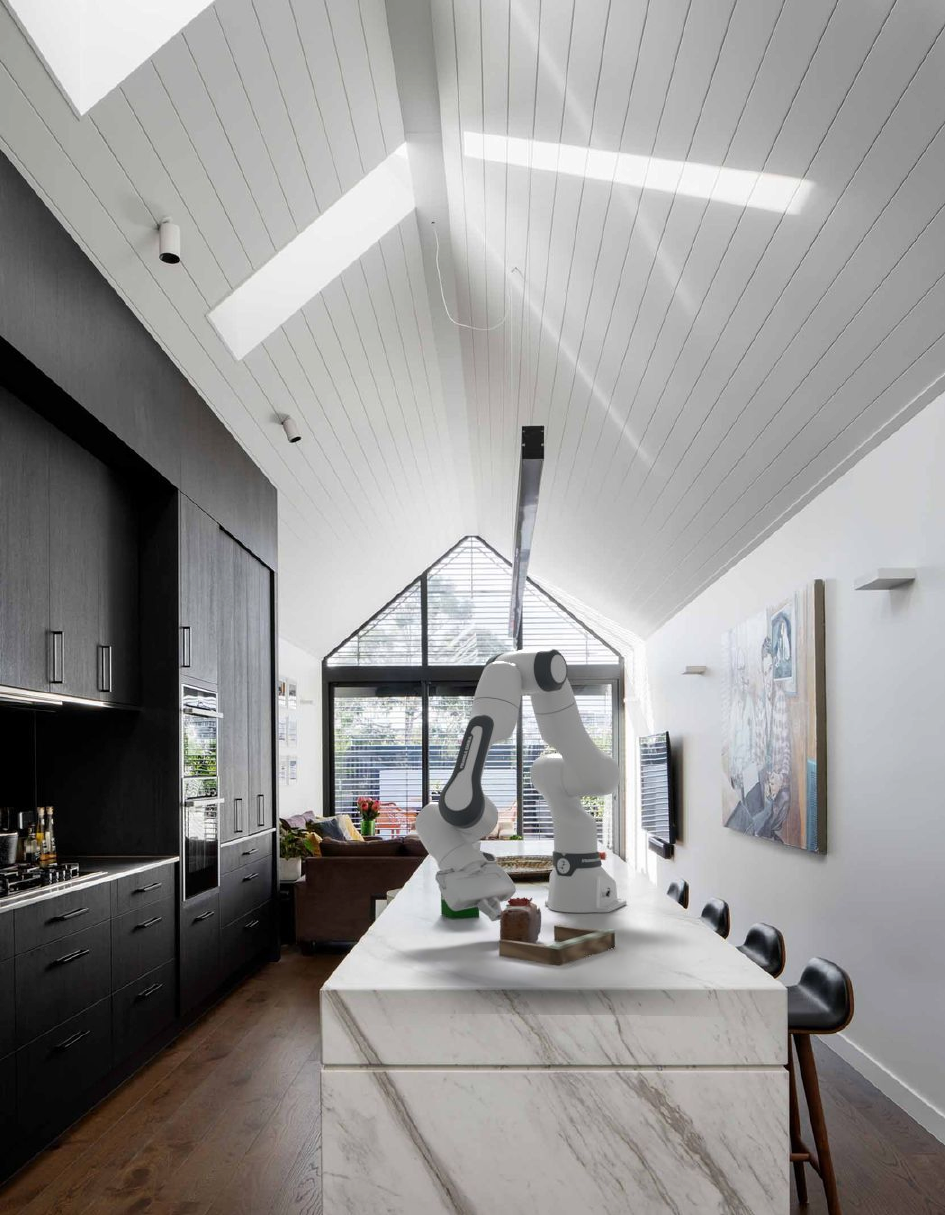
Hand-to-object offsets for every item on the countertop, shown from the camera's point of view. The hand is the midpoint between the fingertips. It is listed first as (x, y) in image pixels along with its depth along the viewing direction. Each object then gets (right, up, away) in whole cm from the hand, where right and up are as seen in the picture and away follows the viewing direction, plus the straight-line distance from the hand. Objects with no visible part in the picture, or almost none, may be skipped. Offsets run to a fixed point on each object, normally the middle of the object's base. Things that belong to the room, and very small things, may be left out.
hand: (498, 918), depth 208 cm
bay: (+12, -4, -10) cm, 16 cm away
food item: (+5, -5, -3) cm, 7 cm away
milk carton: (-9, -10, +32) cm, 34 cm away
